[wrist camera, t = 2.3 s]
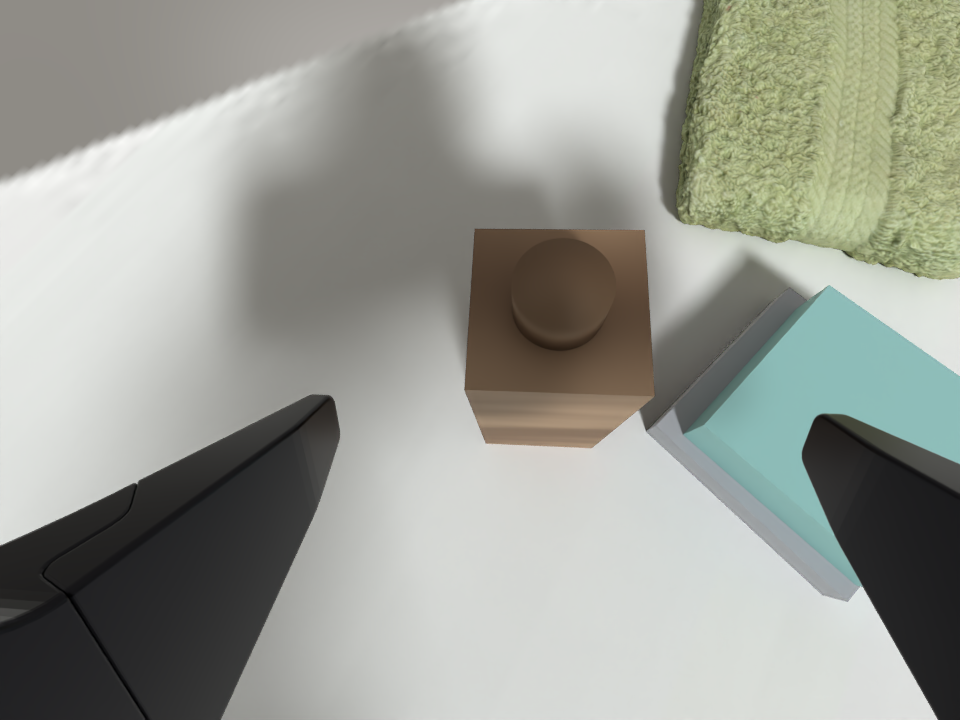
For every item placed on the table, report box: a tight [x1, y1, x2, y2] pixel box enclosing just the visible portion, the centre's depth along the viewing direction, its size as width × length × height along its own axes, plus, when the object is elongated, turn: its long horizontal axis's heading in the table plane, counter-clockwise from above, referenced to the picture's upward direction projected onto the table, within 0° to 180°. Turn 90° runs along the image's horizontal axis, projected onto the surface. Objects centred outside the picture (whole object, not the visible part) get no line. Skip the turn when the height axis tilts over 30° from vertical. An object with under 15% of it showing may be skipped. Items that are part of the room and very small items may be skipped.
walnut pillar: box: [464, 229, 655, 448], centre depth 15 cm, size 4×4×10 cm
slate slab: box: [646, 287, 860, 602], centre depth 18 cm, size 8×8×2 cm
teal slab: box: [683, 285, 960, 587], centre depth 16 cm, size 7×7×2 cm
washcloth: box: [676, 0, 960, 280], centre depth 22 cm, size 13×18×3 cm
